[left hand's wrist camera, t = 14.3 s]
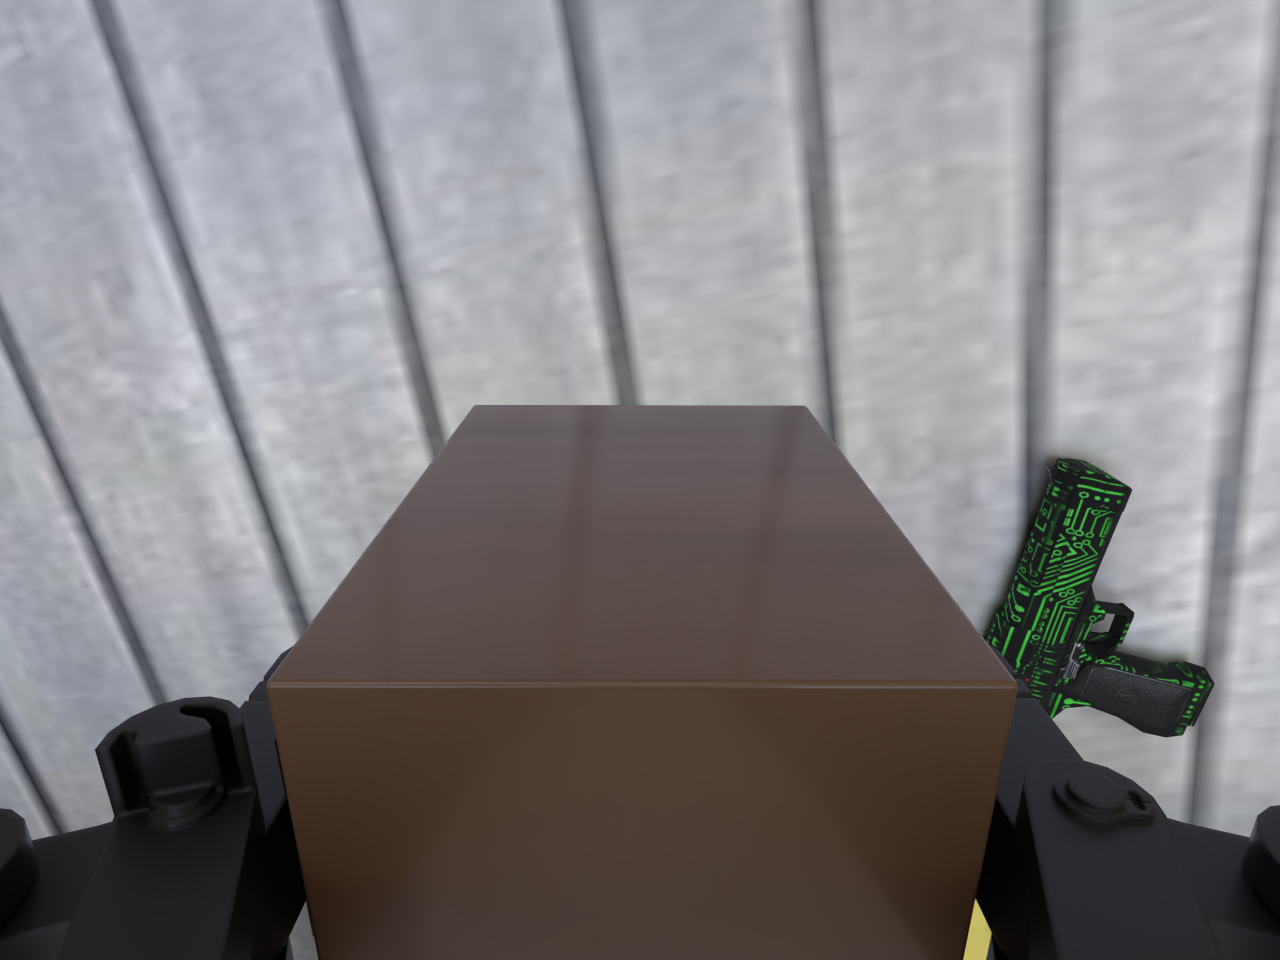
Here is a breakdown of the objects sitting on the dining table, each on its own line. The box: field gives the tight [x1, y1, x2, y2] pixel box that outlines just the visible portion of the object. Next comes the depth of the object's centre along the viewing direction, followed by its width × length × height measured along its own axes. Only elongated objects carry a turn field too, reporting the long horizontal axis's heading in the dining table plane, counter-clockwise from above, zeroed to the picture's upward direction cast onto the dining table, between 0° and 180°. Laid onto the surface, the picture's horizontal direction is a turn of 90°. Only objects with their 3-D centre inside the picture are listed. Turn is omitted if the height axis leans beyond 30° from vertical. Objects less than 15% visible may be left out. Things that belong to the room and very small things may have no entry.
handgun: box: [983, 458, 1214, 737], centre depth 46 cm, size 16×3×15 cm
